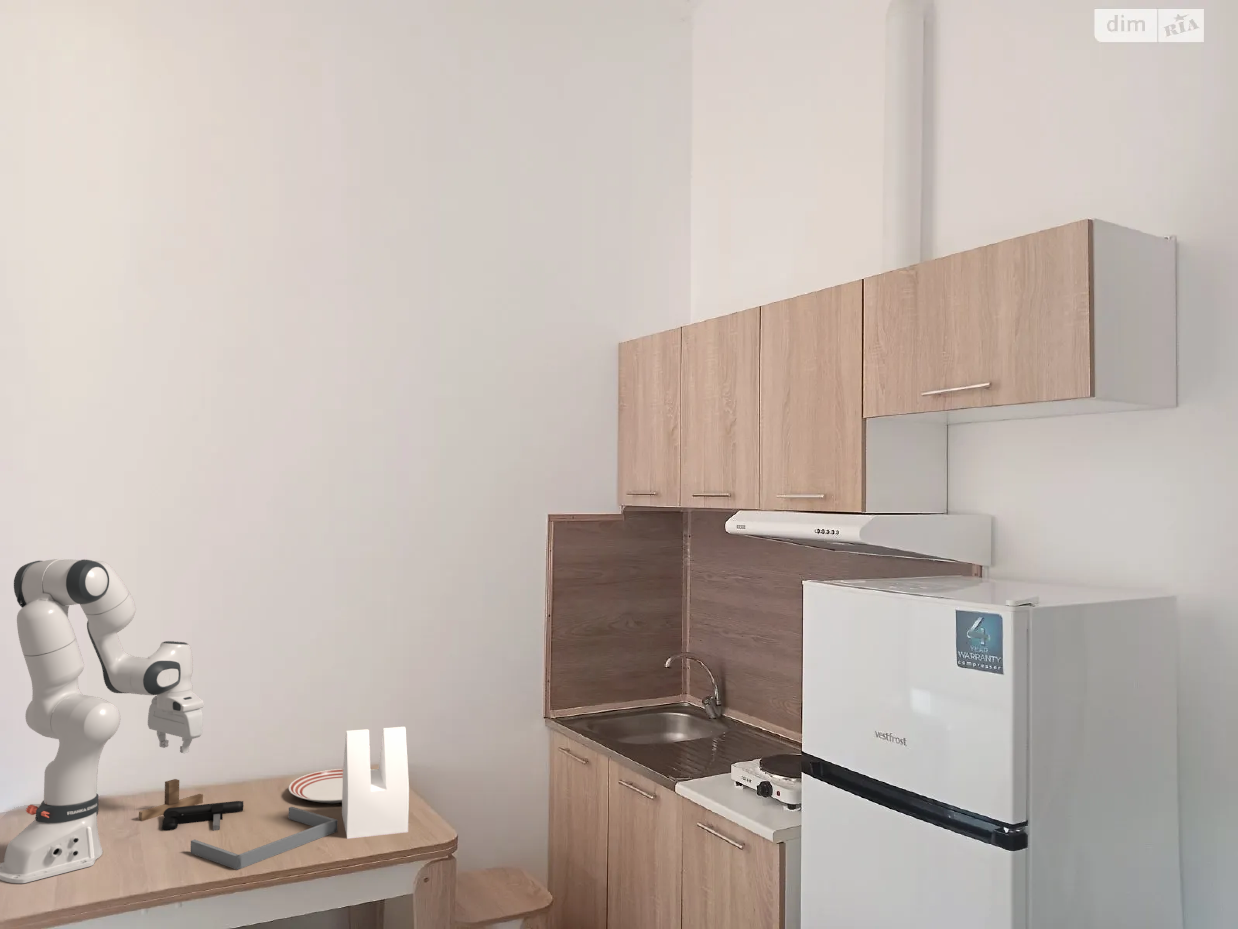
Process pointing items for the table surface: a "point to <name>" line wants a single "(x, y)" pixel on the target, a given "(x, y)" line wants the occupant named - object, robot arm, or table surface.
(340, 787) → the dinner plate
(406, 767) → the white fork-shaped stand
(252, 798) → the table surface
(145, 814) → the walnut scraper
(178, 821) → the black angular piece
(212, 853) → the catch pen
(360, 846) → the table surface
